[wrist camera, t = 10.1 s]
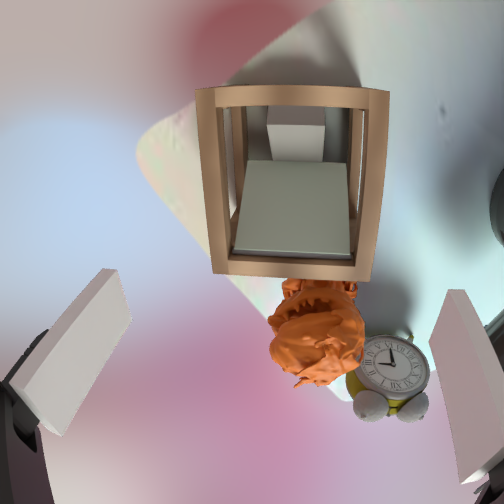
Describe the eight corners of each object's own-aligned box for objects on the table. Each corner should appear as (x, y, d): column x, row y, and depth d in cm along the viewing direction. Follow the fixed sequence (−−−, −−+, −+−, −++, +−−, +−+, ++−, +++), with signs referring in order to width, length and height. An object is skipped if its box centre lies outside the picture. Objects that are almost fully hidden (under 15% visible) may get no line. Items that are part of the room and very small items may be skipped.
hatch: (346, 169, 32) (347, 163, 31) (350, 261, 28) (352, 257, 27) (247, 166, 34) (245, 160, 33) (233, 256, 29) (231, 251, 29)
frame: (362, 87, 30) (389, 91, 19) (354, 221, 38) (369, 281, 27) (232, 85, 32) (194, 89, 22) (239, 216, 40) (212, 273, 30)
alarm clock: (420, 329, 44) (441, 408, 32) (405, 358, 48) (419, 434, 35) (350, 322, 46) (357, 407, 33) (340, 352, 49) (341, 433, 36)
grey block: (322, 162, 31) (324, 125, 26) (272, 161, 32) (266, 124, 27) (321, 124, 33) (323, 86, 27) (275, 123, 34) (270, 85, 28)
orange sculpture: (296, 217, 39) (284, 318, 24) (375, 250, 39) (403, 357, 24) (265, 286, 45) (240, 393, 30) (335, 312, 45) (338, 420, 30)
